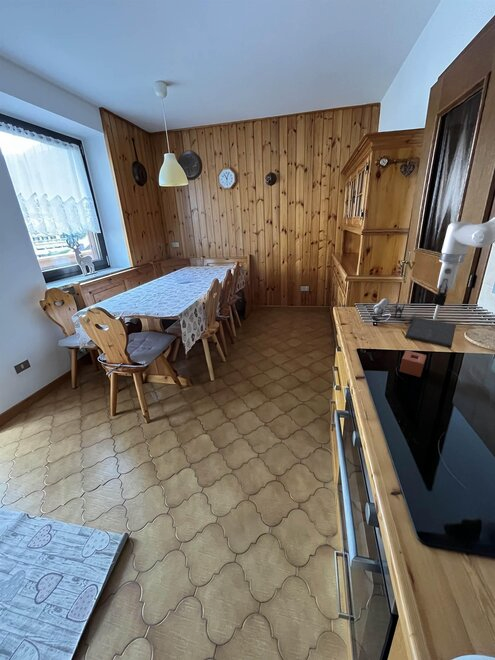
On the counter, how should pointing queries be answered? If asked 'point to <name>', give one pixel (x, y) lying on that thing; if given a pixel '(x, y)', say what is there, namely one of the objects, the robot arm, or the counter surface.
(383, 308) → the clip-on lamp
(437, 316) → the stylus
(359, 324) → the counter surface
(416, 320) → the plate
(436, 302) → the robot arm
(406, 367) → the reddish-brown block
